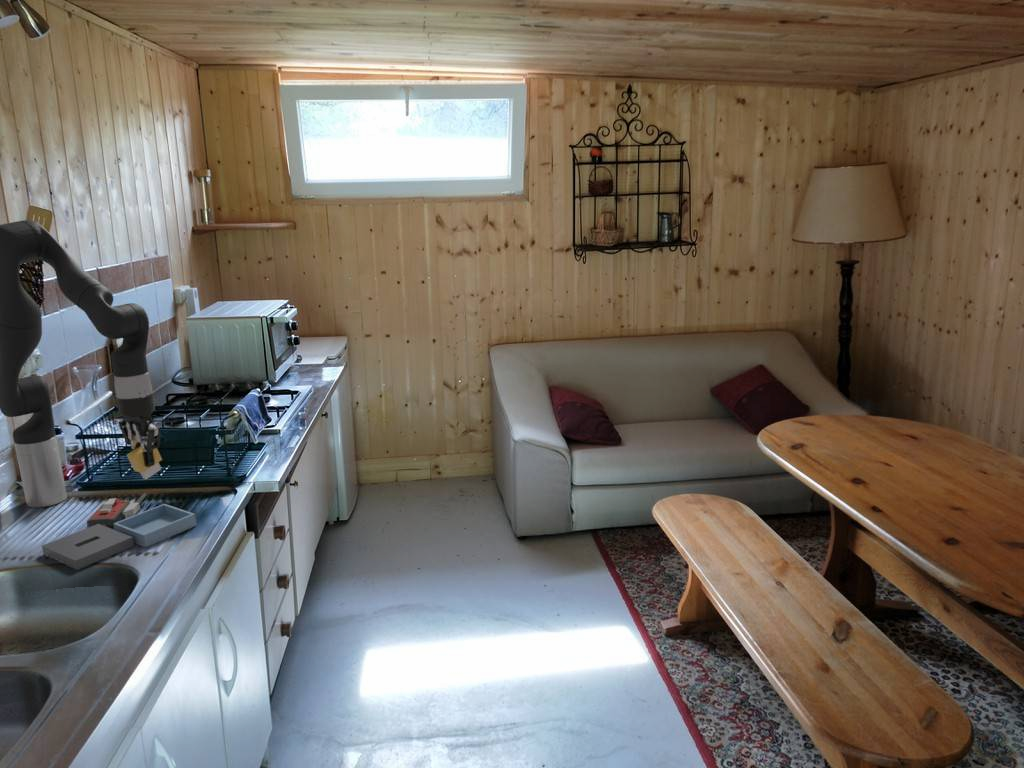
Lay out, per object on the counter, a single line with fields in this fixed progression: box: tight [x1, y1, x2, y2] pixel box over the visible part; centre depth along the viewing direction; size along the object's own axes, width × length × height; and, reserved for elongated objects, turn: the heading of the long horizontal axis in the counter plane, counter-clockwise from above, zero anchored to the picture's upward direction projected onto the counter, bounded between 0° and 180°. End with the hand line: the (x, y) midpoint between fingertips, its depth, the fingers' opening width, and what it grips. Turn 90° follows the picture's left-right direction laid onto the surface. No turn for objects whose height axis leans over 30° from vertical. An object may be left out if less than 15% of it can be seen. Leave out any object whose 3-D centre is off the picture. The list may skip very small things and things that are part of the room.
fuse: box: [126, 441, 163, 480], centre depth 181 cm, size 3×6×7 cm, turn 147°
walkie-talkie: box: [86, 492, 148, 530], centre depth 195 cm, size 9×4×20 cm
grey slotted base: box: [41, 524, 135, 571], centre depth 176 cm, size 14×13×2 cm
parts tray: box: [113, 503, 197, 548], centre depth 185 cm, size 12×13×3 cm
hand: (145, 464), depth 181 cm, fingers closed on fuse, 2 cm apart
